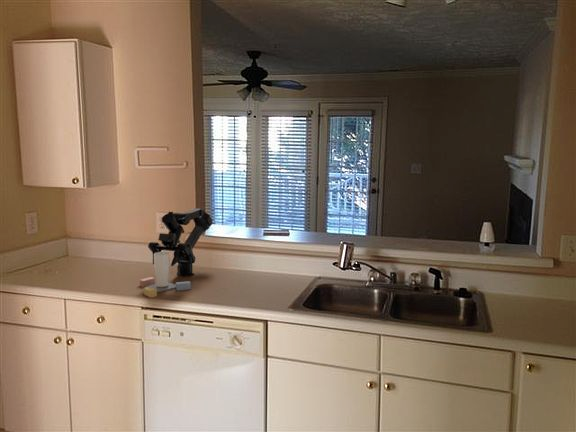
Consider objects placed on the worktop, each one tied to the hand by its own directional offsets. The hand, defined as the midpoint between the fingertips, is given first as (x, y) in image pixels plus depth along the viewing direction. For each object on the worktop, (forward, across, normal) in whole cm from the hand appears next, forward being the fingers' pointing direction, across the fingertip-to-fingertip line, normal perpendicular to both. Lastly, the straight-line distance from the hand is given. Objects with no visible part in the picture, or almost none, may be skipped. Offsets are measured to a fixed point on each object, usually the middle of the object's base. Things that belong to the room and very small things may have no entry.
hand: (162, 264), depth 215 cm
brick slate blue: (+7, +10, +8) cm, 14 cm away
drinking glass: (+8, 0, +6) cm, 10 cm away
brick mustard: (+16, +1, -1) cm, 16 cm away
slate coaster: (+8, 0, +6) cm, 10 cm away
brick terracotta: (+7, -8, +8) cm, 13 cm away
